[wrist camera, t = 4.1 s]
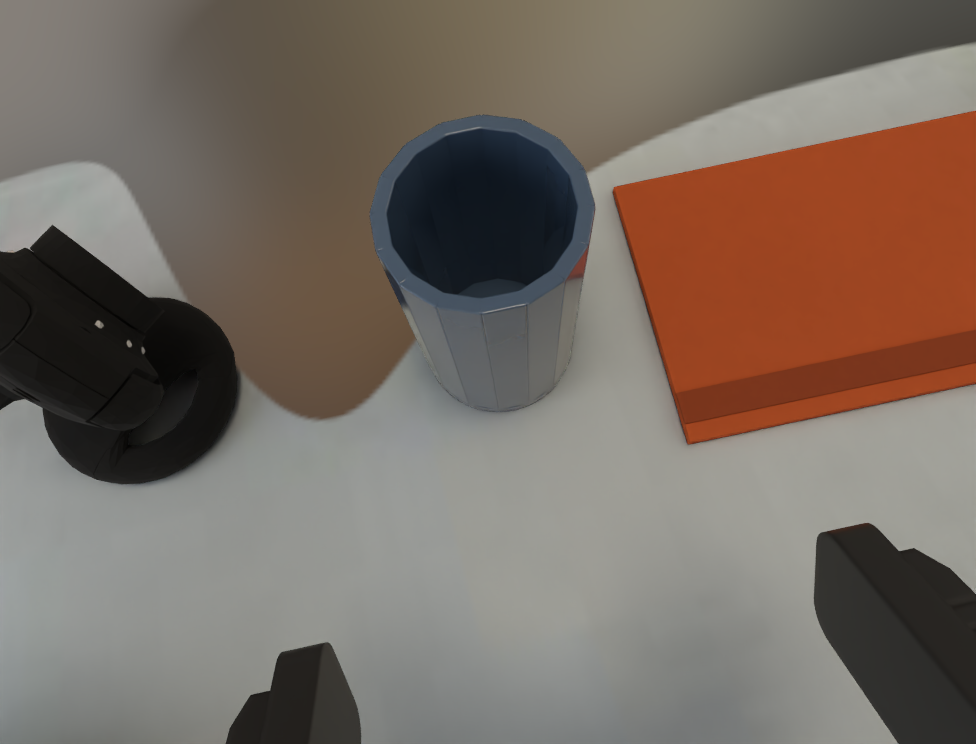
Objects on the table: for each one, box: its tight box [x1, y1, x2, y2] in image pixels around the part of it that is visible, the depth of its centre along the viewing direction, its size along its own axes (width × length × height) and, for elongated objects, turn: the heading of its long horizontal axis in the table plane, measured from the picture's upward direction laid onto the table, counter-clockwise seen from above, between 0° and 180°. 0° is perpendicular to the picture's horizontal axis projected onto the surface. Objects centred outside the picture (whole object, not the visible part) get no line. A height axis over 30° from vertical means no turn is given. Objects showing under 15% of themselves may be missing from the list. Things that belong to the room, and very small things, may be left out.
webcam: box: [0, 225, 237, 484], centre depth 22 cm, size 8×8×10 cm
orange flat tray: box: [613, 111, 976, 444], centre depth 27 cm, size 18×11×1 cm, turn 101°
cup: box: [370, 115, 595, 412], centre depth 22 cm, size 6×6×10 cm
